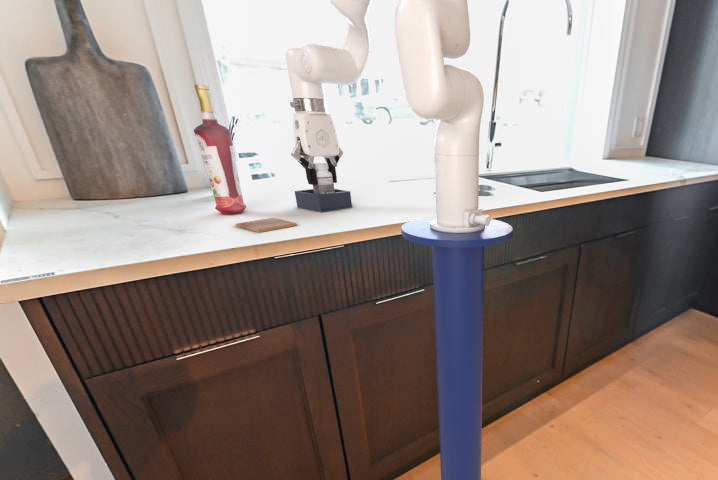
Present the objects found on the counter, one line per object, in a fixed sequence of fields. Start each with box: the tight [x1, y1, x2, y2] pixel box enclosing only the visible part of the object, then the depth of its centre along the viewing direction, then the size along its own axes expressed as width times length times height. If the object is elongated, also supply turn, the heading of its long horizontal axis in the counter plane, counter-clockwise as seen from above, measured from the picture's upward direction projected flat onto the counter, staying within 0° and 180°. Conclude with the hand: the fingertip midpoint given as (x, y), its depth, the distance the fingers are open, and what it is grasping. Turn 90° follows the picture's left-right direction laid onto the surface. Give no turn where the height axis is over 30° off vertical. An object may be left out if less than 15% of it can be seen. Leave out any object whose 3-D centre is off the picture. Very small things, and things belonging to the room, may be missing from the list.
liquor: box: [193, 84, 248, 215], centre depth 101 cm, size 7×7×28 cm
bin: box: [294, 188, 353, 213], centre depth 117 cm, size 10×10×4 cm
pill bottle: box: [312, 162, 336, 195], centre depth 115 cm, size 5×5×10 cm
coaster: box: [234, 217, 298, 233], centre depth 96 cm, size 9×9×1 cm
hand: (322, 182), depth 115 cm, fingers closed on pill bottle, 5 cm apart
